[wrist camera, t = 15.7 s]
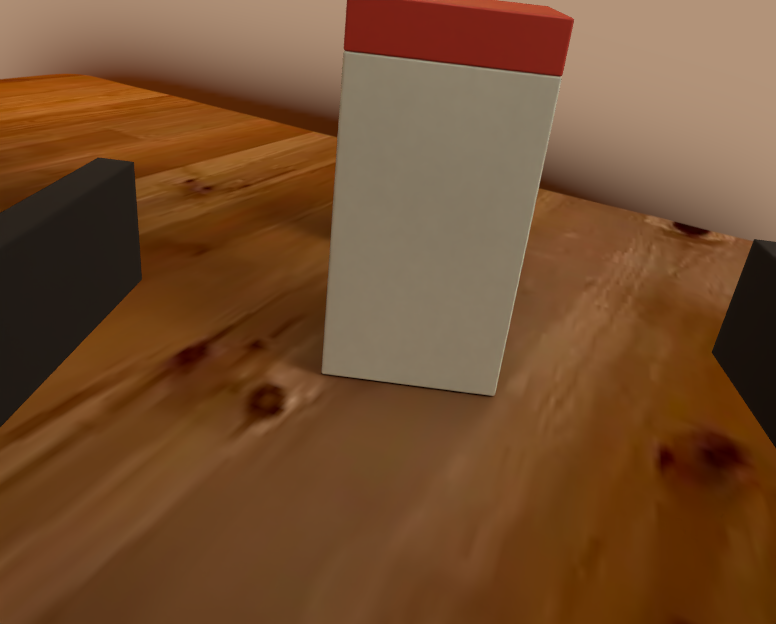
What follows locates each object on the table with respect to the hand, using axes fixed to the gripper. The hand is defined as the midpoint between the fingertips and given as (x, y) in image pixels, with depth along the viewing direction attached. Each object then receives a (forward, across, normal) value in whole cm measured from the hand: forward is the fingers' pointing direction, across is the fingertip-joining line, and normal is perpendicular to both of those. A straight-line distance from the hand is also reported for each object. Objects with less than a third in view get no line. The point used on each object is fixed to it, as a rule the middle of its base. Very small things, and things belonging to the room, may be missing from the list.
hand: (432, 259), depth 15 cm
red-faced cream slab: (+15, 0, -6) cm, 16 cm away
